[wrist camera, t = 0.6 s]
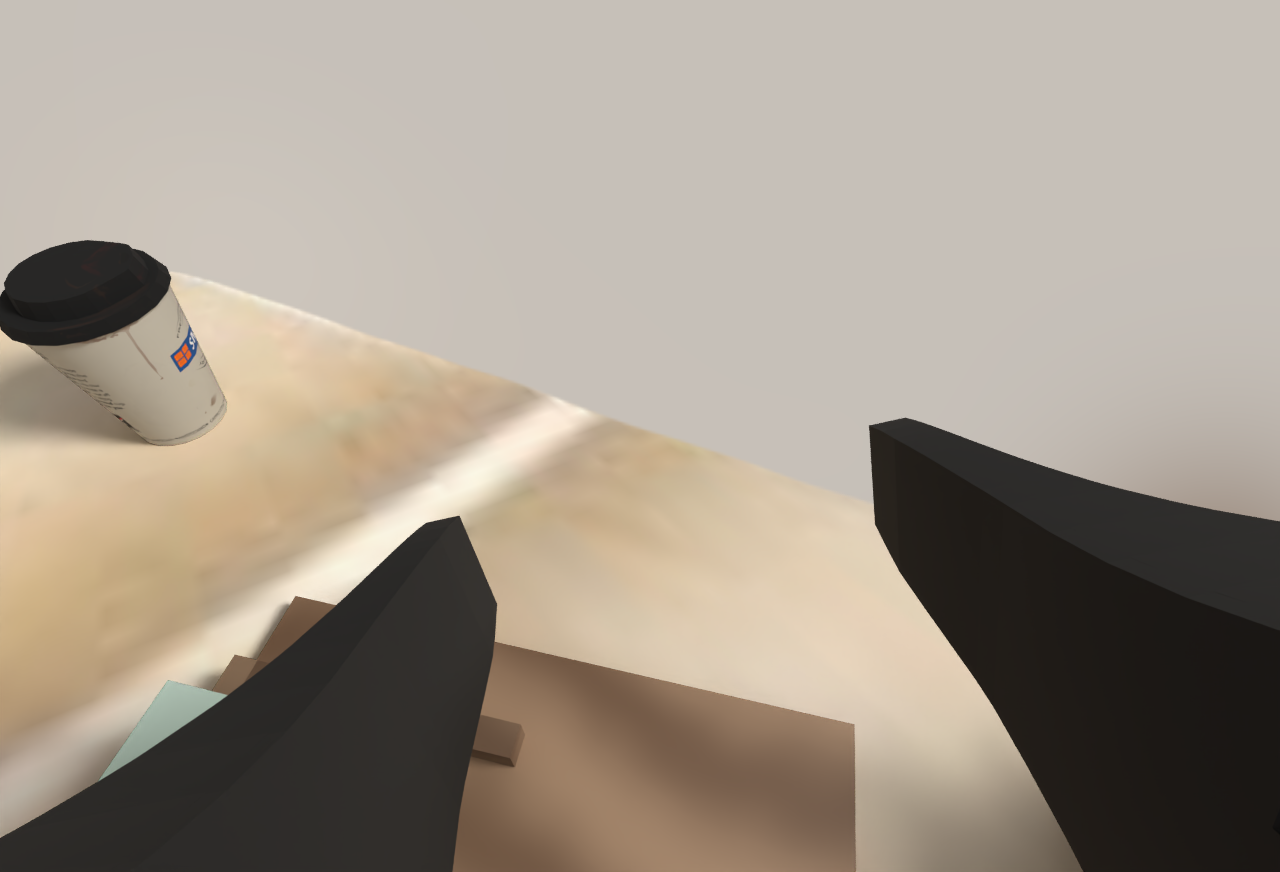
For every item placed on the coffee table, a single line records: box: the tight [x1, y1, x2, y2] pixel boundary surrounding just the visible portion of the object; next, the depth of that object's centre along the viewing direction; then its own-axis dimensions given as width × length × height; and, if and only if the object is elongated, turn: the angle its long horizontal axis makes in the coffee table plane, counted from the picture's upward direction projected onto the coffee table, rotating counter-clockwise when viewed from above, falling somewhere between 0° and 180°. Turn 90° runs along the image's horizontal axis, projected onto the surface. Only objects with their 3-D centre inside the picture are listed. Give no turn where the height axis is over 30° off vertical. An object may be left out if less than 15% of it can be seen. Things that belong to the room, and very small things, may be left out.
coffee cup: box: [0, 240, 227, 446], centre depth 32 cm, size 7×7×10 cm
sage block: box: [99, 680, 227, 781], centre depth 20 cm, size 5×6×7 cm
